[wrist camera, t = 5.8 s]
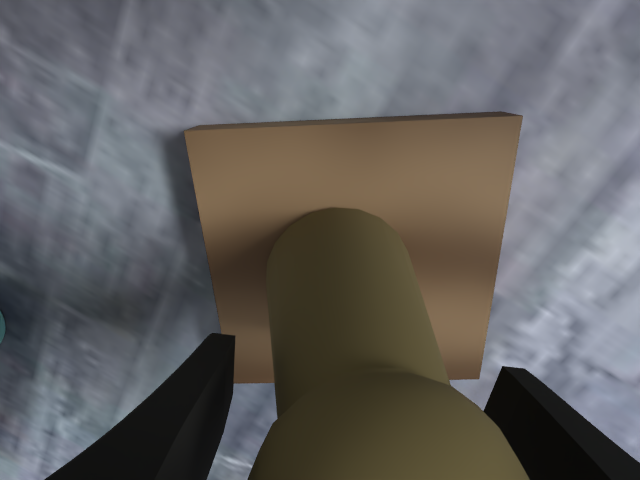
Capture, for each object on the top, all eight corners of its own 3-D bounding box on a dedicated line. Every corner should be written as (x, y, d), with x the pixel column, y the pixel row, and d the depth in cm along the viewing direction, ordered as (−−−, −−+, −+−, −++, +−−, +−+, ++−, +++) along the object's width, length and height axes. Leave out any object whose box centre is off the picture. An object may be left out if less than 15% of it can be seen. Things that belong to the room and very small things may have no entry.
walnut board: (461, 344, 20) (479, 379, 18) (241, 349, 20) (230, 383, 18) (493, 109, 15) (522, 115, 13) (204, 123, 16) (183, 130, 13)
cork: (239, 299, 16) (122, 698, 5) (315, 178, 14) (354, 431, 4) (357, 357, 17) (441, 757, 7) (440, 254, 15) (722, 589, 5)
